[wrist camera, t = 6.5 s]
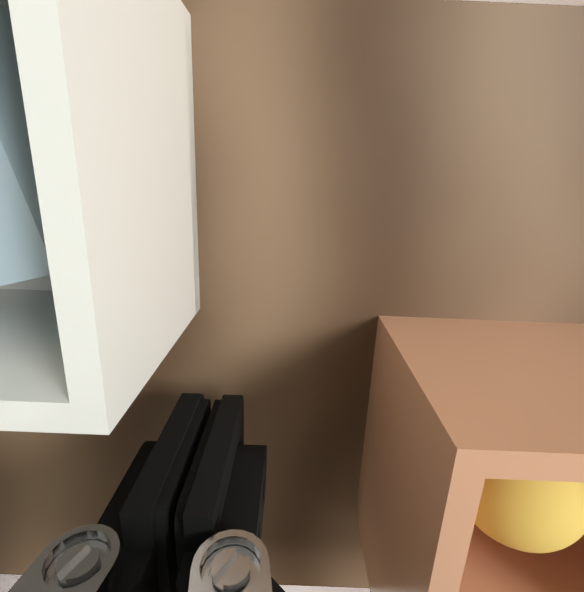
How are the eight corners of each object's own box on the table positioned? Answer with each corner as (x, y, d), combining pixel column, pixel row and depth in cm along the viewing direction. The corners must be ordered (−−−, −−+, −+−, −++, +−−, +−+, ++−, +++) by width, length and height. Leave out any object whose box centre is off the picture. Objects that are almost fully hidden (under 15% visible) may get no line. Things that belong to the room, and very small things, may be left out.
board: (-2, 542, 15) (-27, 572, 14) (-138, -5, 10) (-197, -29, 8) (861, 576, 15) (908, 608, 14) (1206, 55, 10) (1328, 39, 9)
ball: (425, 479, 12) (470, 584, 9) (441, 387, 11) (498, 470, 8) (528, 483, 12) (610, 590, 9) (554, 391, 11) (655, 476, 8)
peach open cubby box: (355, 511, 13) (397, 742, 8) (378, 315, 11) (456, 449, 6) (563, 519, 13) (747, 755, 8) (626, 326, 11) (940, 468, 6)
